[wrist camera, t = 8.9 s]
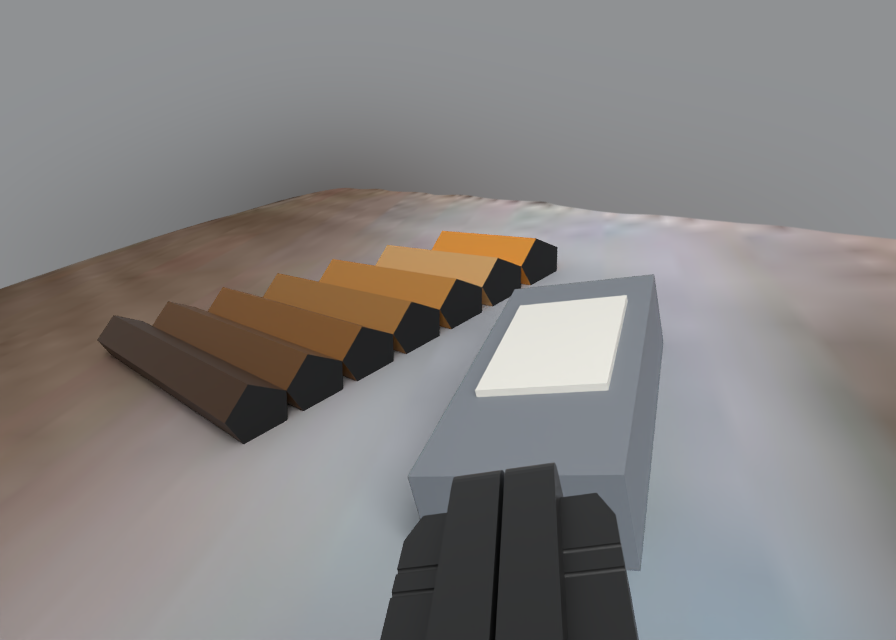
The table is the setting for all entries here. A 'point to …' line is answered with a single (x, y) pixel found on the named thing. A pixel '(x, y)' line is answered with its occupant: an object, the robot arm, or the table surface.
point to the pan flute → (320, 327)
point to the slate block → (560, 400)
